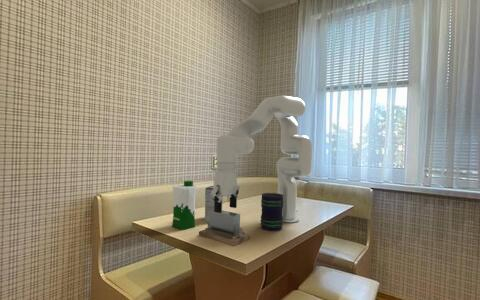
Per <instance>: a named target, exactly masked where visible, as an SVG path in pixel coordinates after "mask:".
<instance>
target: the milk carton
mask: <svg viewBox="0 0 480 300" xmlns="http://www.w3.org/2000/svg"><path fill="white" fill-rule="evenodd" d="M197 188H198V186H197V185H194V181H193V180H184V181H183V184H179V185H174V186H172V192H173V211H172V212H173V216H172V228H175V229H178V230H181V231H184V230H187V229H192V228H195V227H196V219H195V217H196V216H195V214H196V213H195V211H196V209H195V207H196V193H197Z"/></svg>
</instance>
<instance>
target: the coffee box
mask: <svg viewBox="0 0 480 300" xmlns="http://www.w3.org/2000/svg"><path fill="white" fill-rule="evenodd" d="M213 187H214V185H210V186H207V187H205V196H204V203H205V204H204V222H208V220H210V211H212V210H214V201H213V199H212V196H211V191H212V190H213ZM218 199H219V197H218ZM221 202H222V203H223V199H222V200H221Z"/></svg>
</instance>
